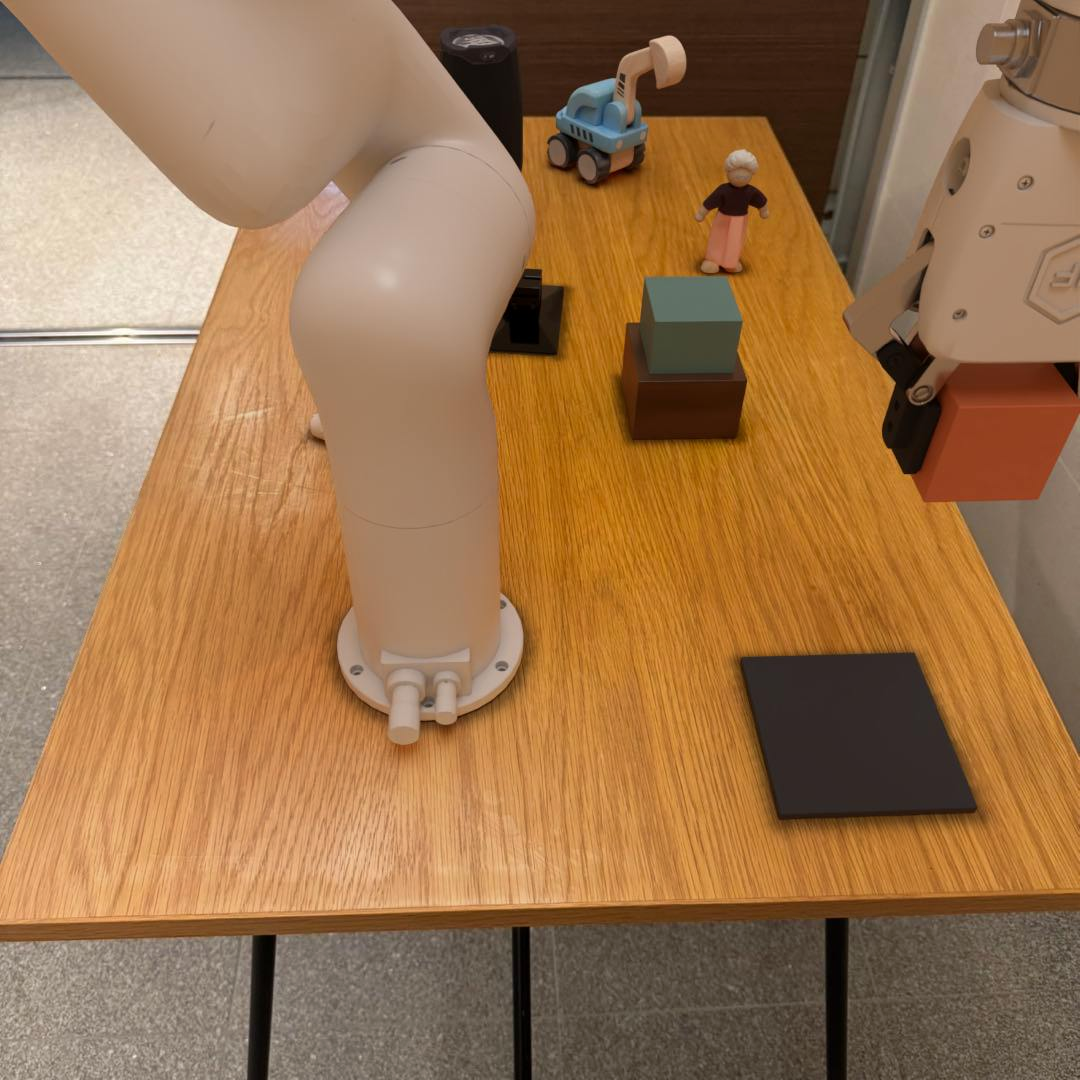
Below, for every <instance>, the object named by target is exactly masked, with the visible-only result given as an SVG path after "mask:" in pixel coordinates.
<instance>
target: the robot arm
mask: <svg viewBox="0 0 1080 1080" xmlns="http://www.w3.org/2000/svg"><path fill="white" fill-rule="evenodd" d="M0 2H1V3H2V4H3V5H4V6H5V7H6V9H8V11H10V12H11V13H12V15H13V16H14V17H15V18H16V19H17V20H18V21H19V22H20V23H21V24H22V25H23V27H25V29H26V30H27V31H28V32H29V33H30V34H31V35H32V37H33V38H34V39H35V40H36V41H37V42H38V43H39V44H40V46H41V47H42V48H43V49H44V50H45V51H46V52H47V53H48V55H50V57H51V58H52V59H53V60H54V61H55V62H56V63H57V64H58V65H59V66H60V67H61V68H62V69H63V70H64V71H65V73H67V75H68V76H69V77H70V78H71V79H72V80H73V81H74V82H75V83H76V84H77V85H78V86H79V87H80V89H82V91H84V92H85V94H86V95H87V96H88V97H89V98H91V100H92V101H93V102H94V103H95V104H96V105H97V106H98V107H99V108H100V109H101V111H102V112H103V113H105V115H106V116H107V117H108V118H109V119H110V120H111V121H112V122H113V123H114V124H115V125H116V126H117V127H118V128H119V129H120V130H121V131H122V132H123V134H124V135H125V136H126V137H127V138H128V139H129V140H130V141H131V142H132V143H133V144H134V145H135V147H137V148H138V149H139V150H140V152H141V153H143V155H144V156H145V157H146V158H147V159H148V161H150V162H151V163H152V164H153V165H154V166H155V167H156V168H157V169H158V171H160V172H161V173H162V174H163V176H164V177H165V178H166V179H167V180H168V181H169V182H170V183H171V184H172V185H173V186H174V187H175V188H176V189H177V190H178V191H179V192H180V193H182V195H184V196H185V197H186V198H187V199H188V200H189V201H190V202H191V203H193V204H194V205H195V206H196V207H197V208H198V209H199V210H201V211H202V212H204V213H205V214H206V215H208V216H210V217H211V218H213V219H214V220H215V221H217V222H220V223H222V224H224V225H227V226H229V227H232V228H237V229H243V230H251V231H252V230H261V229H262V230H263V229H267V228H270V227H273V226H277V225H279V224H281V223H284V222H285V221H287V220H289V219H290V218H292V217H293V216H295V215H297V213H299V212H300V211H301V210H303V209H304V208H306V207H307V206H308V205H309V204H310V203H312V201H314V199H316V198H317V197H318V196H319V195H320V194H321V192H322V191H324V189H326V188H327V186H329V184H330V183H331V182H332V183H333V185H335V187H336V188H337V189H338V190H339V191H340V192H341V193H342V194H343V195H344V196H345V198H346V199H347V200H348V201H349V203H348V204H347V205H346V207H345V208H344V209H343V210H342V211H341V212H340V214H339V215H338V216H337V217H336V218H335V219H334V220H333V222H332V223H331V224H330V225H329V226H328V228H327V229H326V230H325V231H324V232H323V234H322V235H321V237H320V238H319V239H318V241H317V242H316V243H315V245H314V246H313V247H312V249H311V250H310V252H309V254H308V256H307V257H306V259H305V261H304V263H303V264H302V266H301V269H300V271H299V273H298V276H297V278H296V280H295V283H294V287H293V290H292V294H291V299H290V304H289V315H288V316H289V317H288V327H289V333H290V339H291V345H292V349H293V351H294V356H295V358H296V360H297V363H298V366H299V369H300V370H301V371H300V372H301V373H302V375H303V378H304V380H305V382H306V385H307V387H308V389H309V392H310V394H311V397H312V400H313V403H314V405H315V406H314V407H315V408H316V413H318V415H319V418H320V422H321V426H322V430H323V434H324V439H325V440H324V443H325V448H326V454H327V459H328V463H329V470H330V476H331V482H332V487H333V492H334V497H335V502H336V503H335V504H336V509H337V514H338V515H337V516H338V521H339V527H340V532H341V539H342V545H343V552H344V557H345V563H346V569H347V575H348V580H349V581H348V583H349V587H350V594H351V601H352V606H351V607H350V609H349V610H348V612H347V614H346V615H345V617H344V618H343V620H342V623H341V625H340V627H339V631H338V634H337V639H336V651H337V660H338V664H339V667H340V672H341V675H342V677H343V679H344V680H345V683H346V684H347V685H348V687H349V688H350V689H351V691H352V692H353V693H354V694H355V695H356V696H357V697H358V699H360V700H361V701H363V702H364V703H366V705H369V706H370V707H371V708H373V709H375V710H377V711H379V712H382V713H384V714H386V715H388V723H387V738H388V740H389V741H390V742H392V743H393V744H396V745H399V746H401V745H403V746H407V745H411V744H414V743H416V742H417V741H419V738H420V736H421V721H435V722H436V723H437V724H439V725H443V726H448V725H453V724H455V722H457V719H458V717H459V716H463V715H466V714H468V713H470V712H473V711H475V710H477V709H479V708H481V707H482V706H485V705H486V704H488V703H489V702H491V701H492V700H494V699H496V697H497V696H498V695H500V694H501V693H502V692H503V691H504V690H505V689H506V688H507V687H508V685H510V682H512V680H513V679H514V678H515V677H516V674H517V672H518V669H519V667H520V665H521V661H522V657H523V652H524V631H523V630H524V629H523V624H522V621H521V618H520V616H519V613H518V611H517V609H516V608H515V606H514V605H513V604H512V602H511V601H510V599H509V598H508V597H507V596H506V595H505V594H503V593H502V591H501V551H500V550H501V549H500V547H501V546H500V540H501V539H500V537H501V536H500V471H499V450H498V449H499V447H498V445H499V444H498V430H497V421H496V416H495V410H494V407H493V403H492V400H491V397H490V391H489V388H488V383H487V381H488V379H487V367H488V366H487V365H488V357H489V353H490V352H489V348H490V345H491V341H492V338H493V335H494V332H495V330H496V328H497V326H498V324H499V322H500V320H501V318H502V316H503V314H504V312H505V310H506V307H507V305H508V302H509V300H510V298H511V296H512V294H513V292H514V290H515V288H516V286H517V284H518V282H519V280H520V278H521V276H522V274H523V272H524V269H526V267H527V266H528V263H529V261H530V258H531V255H532V252H533V249H534V244H535V241H536V234H537V233H536V232H537V216H536V208H535V203H534V200H533V197H532V193H531V191H530V189H529V186H528V184H527V181H526V180H525V177H524V175H523V173H521V172H520V170H519V169H518V167H517V165H516V164H515V162H514V160H513V159H512V157H511V156H510V154H509V153H508V152H507V150H506V149H505V147H504V146H503V144H502V143H501V142H500V140H499V139H498V138H497V136H496V135H495V134H494V132H493V131H492V130H491V128H490V127H489V126H488V124H487V123H486V122H485V121H484V119H483V118H482V117H481V115H480V114H479V113H478V111H477V110H476V109H475V107H474V106H473V105H472V103H471V102H470V101H469V99H468V98H467V97H466V95H465V94H464V93H463V92H462V90H461V89H460V88H459V86H458V85H457V84H456V82H455V81H454V80H453V78H452V77H451V76H450V74H449V73H448V72H447V70H446V69H445V68H444V67H443V65H442V64H441V63H440V61H439V59H438V57H437V56H436V55H435V53H434V52H433V50H432V49H431V48H430V46H429V45H428V44H427V43H426V41H425V40H424V39H423V38H422V36H421V35H420V33H419V32H418V31H417V29H416V28H415V26H413V25H412V23H411V22H410V21H409V20H408V18H407V17H406V16H405V15H404V13H403V12H402V11H401V9H400V8H399V7H398V6H397V5H396V4H395V2H393V0H0ZM975 57H976V62H977V63H978V64H979V65H983V66H985V65H989V66H991V65H992V66H995V65H996V67H997V68H998V69H999V72H1000V73H1001V75H1000V78H994V79H993V78H992V79H987V80H985V81H984V82H983V84H982V86H981V88H980V90H979V91H978V93H977V95H976V96H975V98H974V100H973V102H972V103H971V105H970V107H969V108H968V110H967V112H966V114H965V115H964V117H963V119H962V121H961V123H960V126H959V127H958V129H957V132H956V133H955V135H954V138H953V139H952V141H951V144H950V146H949V147H948V150H947V152H946V154H945V156H944V158H943V160H942V162H941V164H940V167H939V170H938V172H937V175H936V177H935V179H934V181H933V184H932V186H931V189H930V191H929V193H928V196H927V199H926V201H925V204H924V207H923V208H922V211H921V215H920V217H919V219H918V222H917V225H916V228H915V230H914V233H913V237H912V240H911V243H910V245H909V248H908V251H907V254H906V258H905V260H904V261H903V262H901V263H900V264H899V265H898V266H897V267H895V268H894V269H893V270H892V271H890V272H889V273H888V274H886V275H885V276H884V277H882V278H881V280H879V281H878V282H876V283H875V284H874V285H873V286H872V287H870V288H869V289H868V290H866V291H865V292H864V293H863V294H862V295H860V296H859V297H858V298H857V299H855V300H854V301H853V302H852V303H851V304H849V305H848V306H847V307H846V308H845V309H844V310H843V312H842V315H841V316H842V317H841V318H842V320H843V323H844V324H845V326H846V329H847V331H848V332H849V335H850V337H852V338H853V340H855V341H856V342H857V344H859V345H860V347H862V348H863V349H864V350H865V351H866V352H867V353H868V354H869V355H870V356H872V357H873V358H874V359H875V360H876V361H877V362H878V363H879V365H880V366H881V369H883V370H884V371H885V373H886V374H887V375H888V376H889V377H890V378H891V379H892V380H893V381H894V387H893V390H892V392H891V396H890V400H889V401H888V402H889V403H888V406H887V409H886V412H885V416H884V418H883V421H882V425H881V437H882V441H883V444H884V445H885V447H886V449H888V450H891V451H892V453H893V456H894V458H895V461H896V462H897V464H898V466H899V468H900V470H901V472H902V474H903V475H910V474H917V472H918V471H920V470H921V467H922V464H923V461H924V459H925V456H926V453H927V450H928V448H929V445H930V442H931V440H932V437H933V434H934V431H935V429H936V426H937V423H938V420H939V418H940V415H941V406H940V404H939V402H938V400H937V398H936V397H935V396H936V395H937V394H938V392H939V391H940V390H941V388H942V387H943V386H944V384H945V383H946V382H947V380H948V379H949V378H950V377H951V375H952V374H953V373H954V371H955V370H956V369H957V367H958V366H959V365H960V363H1053V364H1054V366H1055V367H1056V368H1057V370H1058V371H1059V372H1060V374H1061V375H1062V376H1063V378H1064V379H1065V380H1066V382H1067V383H1068V385H1069V386H1070V387H1071V389H1072V390H1073V391H1074V393H1075V394H1076V395H1077V397H1078V398H1079V399H1080V0H1019V4H1018V7H1017V11H1016V14H1015V16H1014V18H1008V19H1006V20H1005V21H1004V22H1002V23H1001V22H1000V23H998V22H997V23H996V22H995V23H994V22H992V23H989V22H988V23H986V24H985V25H983V27H982V29H981V30H980V32H979V35H978V37H977V41H976V47H975ZM907 311H910V312H914V313H917V321H916V322H915V323H914V325H913V327H912V328H911V330H910V331H909V333H908V334H907V335H906V337H904V339H903V338H902V336H901V335H900V334H899V332H897V330H896V329H894V328H893V327H891V326H892V324H893V323H894V321H895V320H897V319H898V318H899V317H900V316H901V315H903V314H904V313H906V312H907ZM929 354H930V355H929ZM928 355H929V356H928ZM926 358H927V359H926ZM925 359H926V360H925ZM924 361H925V362H924ZM923 362H924V363H923Z"/></svg>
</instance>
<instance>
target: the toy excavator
mask: <svg viewBox="0 0 1080 1080" xmlns="http://www.w3.org/2000/svg"><path fill="white" fill-rule="evenodd" d="M620 60H621V61H619V64H618V69H617V73H616V77H614V78H613V77H612V78H608V79H603V80H600V81H597V82H594V83H589V84H587V85H583V86H580V87H578V88H577V89H576V90H574V91H573V92H572V93H571V95H570V97H569V99H568V101H567V104H566V106H564V107H563V108H562V109H560V110H559V111H558V112H556V115H555V128H556V129H557V130H558V131H559V132H558V133H555V134H552V135H551V136H550V137H549V138H548V139H547V142H546V145H548V147H547V151H546V154H547V158H548V160H549V162H550V163H551V164H552V166H554V167H560V168H562V169H565V168H568V167H571V166H573V165H575V164H576V165H575V167H576V171H577V174H578V175H579V178H580V179H582V178H583V179H584V183H585V184H588V185H594V184H596V183H599V182H600V181H603V180H605V179H607V178H608V177H609V175H610V174H611V173H614V172H616V171H618V170H621V169H626V170H631V169H633V168H635V167H638V166H640V165H641V164H642V163H643V162H644V161H645V157H646V154H645V151H646V148H647V147H646V142H647V141H648V134H649V128H650V127H649V124H647V123H646V122H644V121H642V106H641V104H640V102H639V101H638V100H637V99H636V93H637V82H638V80H639V77H641V76H642V75H643V74H646V73H648V72H650V71H652V70H653V71H654V74H655V75H654V76H655V81H656V83H655V88H656V89H657V90H660V89H663V88H667V87H669V86H673V85H676V84H678V83H680V82H681V81H682V80H683V78H684V76H685V74H686V71H687V55H686V51H685V49H684V47H683V45H682V43H681V41H680V40H679V39H678V38H677V37H675V36H674V35H663V36H660V37H658V38H654V39H651V40H649V42H648V47H645V48H641V49H638V50H636V51H633V52H629V53H627V54H626V55H624V56H623V57H622V58H621V59H620ZM585 180H586V181H585Z"/></svg>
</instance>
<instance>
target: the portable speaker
mask: <svg viewBox="0 0 1080 1080" xmlns="http://www.w3.org/2000/svg"><path fill="white" fill-rule="evenodd" d="M439 37H440V38H439V43H438V44H439V45H438V46H440V52H439V59H438V60H439V61H440V63H441V64H442V65H443V67H444V68H445V69H446V70H447V72H448V73H449V74H450V76H451V77H452V78H453V80H454V81H455V82H456V84H457V85H458V86H459V88H460V89H461V90H462V92H463V93H464V94H465V95H466V97H467V98H468V99H469V101H470V102H471V103H472V105H473V106H474V107H475V109H476V110H477V111H478V113H479V114H480V115H481V117H482V118H483V119H484V121H485V122H486V123H487V124H488V126H489V127H490V128H491V130H492V131H493V132H494V134H495V135H496V136H497V138H498V139H499V140H500V142H501V143H502V144H503V146H504V147H505V149H506V150H507V152H508V153H509V154H510V156H511V157H512V159H513V160H514V162H515V164H516V165H517V167H518V169H519V170H520V172H521V174H523V164H524V89H523V81H522V75H521V66H520V58H519V53H518V52H519V51H518V43H517V36H516V34H515V31H514V30H513V29H511V28H510V27H508V26H505V25H501V24H500V25H499V24H493V23H489V24H487V25H486V26H476V27H460V28H459V27H457V26H448V27H446V28H444V29H442V30H441V33H440V35H439Z"/></svg>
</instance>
